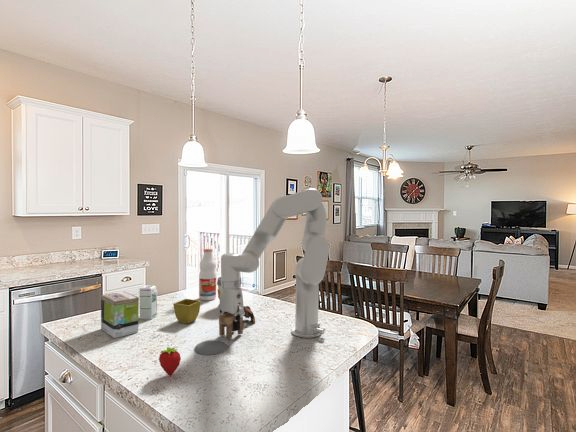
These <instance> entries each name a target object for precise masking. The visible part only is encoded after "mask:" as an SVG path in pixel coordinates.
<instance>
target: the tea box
mask: <svg viewBox="0 0 576 432" xmlns="http://www.w3.org/2000/svg"><path fill="white" fill-rule="evenodd" d="M100 299H101V300H100V304H101V305H100V329H101V331H102V330H103V331H104V332H105V333H106V334H108V335H109V336H110V337H112V338H114V339H117V338H121V337H124V336H128V335H132V334H133V335H134V334H137V333H139V319H140V316H139V314H140V298H139V296H136V295H134V294H132V293H130V292H127V291H117V292H112V293H107V294H106V293H105V294H101V297H100Z"/></svg>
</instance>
